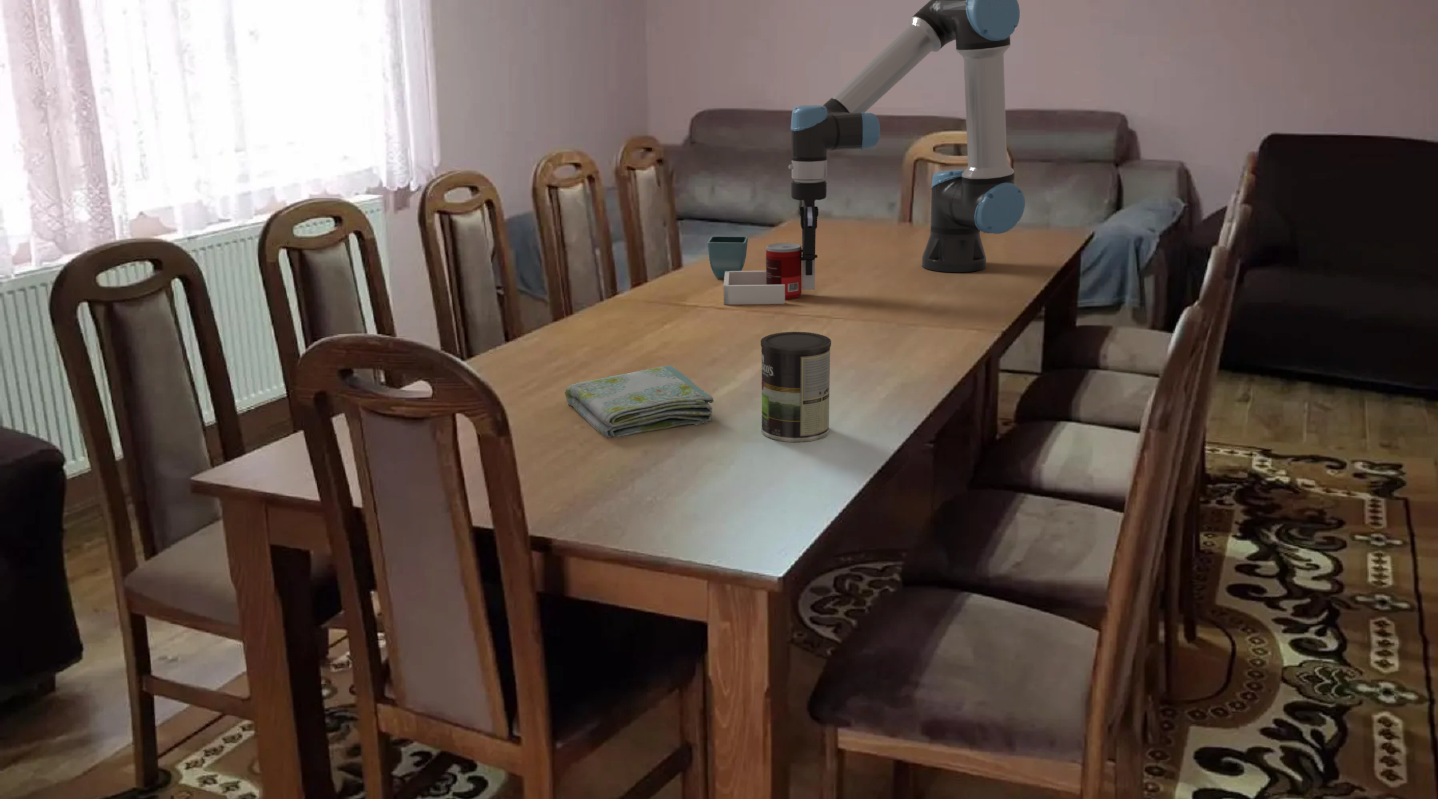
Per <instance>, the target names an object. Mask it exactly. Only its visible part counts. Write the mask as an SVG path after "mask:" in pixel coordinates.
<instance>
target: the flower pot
mask: <svg viewBox="0 0 1438 799" xmlns="http://www.w3.org/2000/svg"><path fill="white" fill-rule="evenodd" d="M748 238H749V237H748V236H731V235H729V236H726V235H723V236H722V235H720V236H719V235H718V236H717V235H713V236H710V238H709V240H707V243H706V244H707V249H708V250H707V251H708V261H709V264H710V269H711V270H712V273H713V275H714V276H715V278H716V279H724V276H725V271H743V268H744V266H745V263H746V259H747V253H748V252H747V250H748V240H749V239H748Z"/></svg>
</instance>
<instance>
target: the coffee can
mask: <svg viewBox="0 0 1438 799" xmlns="http://www.w3.org/2000/svg"><path fill="white" fill-rule="evenodd" d="M831 346H832V340H831V338H830V337H828V336H825V335H823V334H819V333H816V332H815V333H814V332H808V331H806V332H805V331H784V332H778V333H773V334H772V333H771V334H768V335H765V336H763V337H762V338H761V339H760V347H761V431H760V432H761V434H762V435H763V436H764V437H766V438H767V439H771V440H775V441H778V442H783V443H805V442H814V441H818V440H821V439H824V438H825V437H826V436H828V435H829V433H830V379H831V378H830V376H831V375H830V374H831V371H830V370H831Z"/></svg>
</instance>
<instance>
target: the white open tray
mask: <svg viewBox="0 0 1438 799" xmlns="http://www.w3.org/2000/svg"><path fill="white" fill-rule="evenodd" d="M723 279H724V280H723V305H727V306H728V305H785V304H786V299H785V284H784V285H766V270H742V271H725V276H724V278H723Z"/></svg>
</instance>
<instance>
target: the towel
mask: <svg viewBox="0 0 1438 799" xmlns="http://www.w3.org/2000/svg"><path fill="white" fill-rule="evenodd" d="M564 390H565V391H564V395H565V399H566V402H567V403H568V406H570V407H573V409H574V410H575V411H576V412H577V413H578V414H579V415H580V416H581V417H582V418H583V419H584V420H585V421H586V422H587V423H589V425H591V427H593V428H594V429H595V430H596V431H597V432H598V433H599V434H600V435H602V436H603V437H606V438H608V439H610V438H612V437H613V438H620V437H626V436H630V435H634V434H640V433H646V432H652V431H658V430H663V429H664V430H665V429H670V428H673V427H679V426H686V425H692V424H693V425H696V426H697V425H704V423H710V422H712V421H713V420H712V416H713V415H712V413H713V407H712V406H711V405H710V404H712V403H714V402H715V401H714V397H712V396H711V394H708V393H707V392H705V391H704V390H703V389H701V388H700V387H699V386H697V384H695V382H694V381H692V380H691V379H690V378H689V377H688V376H686V375H685V374H684V373H683V372H681V371H680V370H679V369H677V368H676V367H674V366H672V365H663V366H657V367H652V368H647V369H642V370H638V371H633V372H629V373H621V374H617V375H611V376H606V377H601V378H596V379H591V380H589V379H588V380H586V381H581V382H577V383H573V384H571V385H568V386H567V387H566V388H565V389H564Z"/></svg>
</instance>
